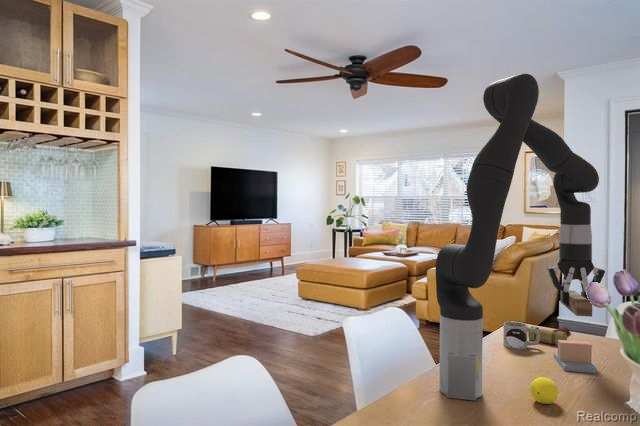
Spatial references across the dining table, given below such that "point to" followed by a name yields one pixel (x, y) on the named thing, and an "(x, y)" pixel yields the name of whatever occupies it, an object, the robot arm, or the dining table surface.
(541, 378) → the lemon
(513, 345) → the mug
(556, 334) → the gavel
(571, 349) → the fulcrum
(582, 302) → the walnut bar
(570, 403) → the dining table surface
